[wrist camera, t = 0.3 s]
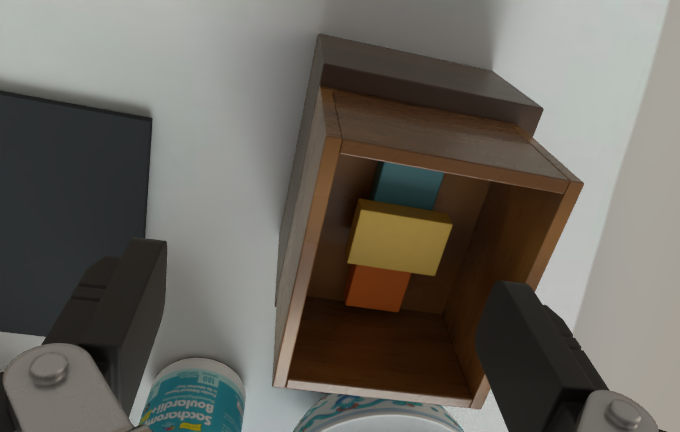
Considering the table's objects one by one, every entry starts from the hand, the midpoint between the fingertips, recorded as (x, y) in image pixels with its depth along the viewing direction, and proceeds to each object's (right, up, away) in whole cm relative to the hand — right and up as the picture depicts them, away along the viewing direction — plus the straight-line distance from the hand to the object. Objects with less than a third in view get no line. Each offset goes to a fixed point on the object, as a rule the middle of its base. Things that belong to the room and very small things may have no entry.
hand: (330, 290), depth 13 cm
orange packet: (+2, -1, +16) cm, 16 cm away
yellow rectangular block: (+3, +1, +14) cm, 14 cm away
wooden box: (+3, +2, +15) cm, 16 cm away
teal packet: (+3, +4, +14) cm, 15 cm away
